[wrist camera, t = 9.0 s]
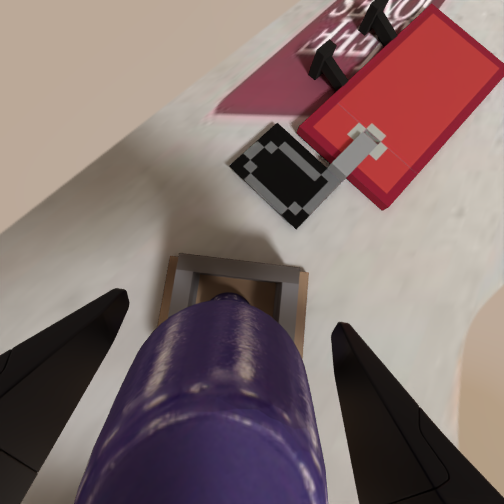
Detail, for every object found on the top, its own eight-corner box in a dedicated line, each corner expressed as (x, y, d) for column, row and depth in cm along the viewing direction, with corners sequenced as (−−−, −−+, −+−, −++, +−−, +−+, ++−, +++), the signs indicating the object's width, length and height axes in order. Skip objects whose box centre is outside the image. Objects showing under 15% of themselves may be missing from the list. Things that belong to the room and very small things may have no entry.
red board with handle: (215, 158, 22) (330, 267, 21) (212, 139, 19) (345, 263, 18) (397, -2, 27) (496, 80, 26) (416, -36, 24) (526, 55, 23)
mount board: (288, 523, 17) (300, 584, 14) (127, 510, 17) (97, 569, 13) (306, 273, 20) (320, 269, 17) (172, 256, 20) (157, 249, 16)
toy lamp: (263, 296, 19) (410, 336, 3) (256, 354, 18) (405, 882, 2) (207, 289, 19) (12, 284, 3) (197, 347, 18) (-165, 858, 2)
